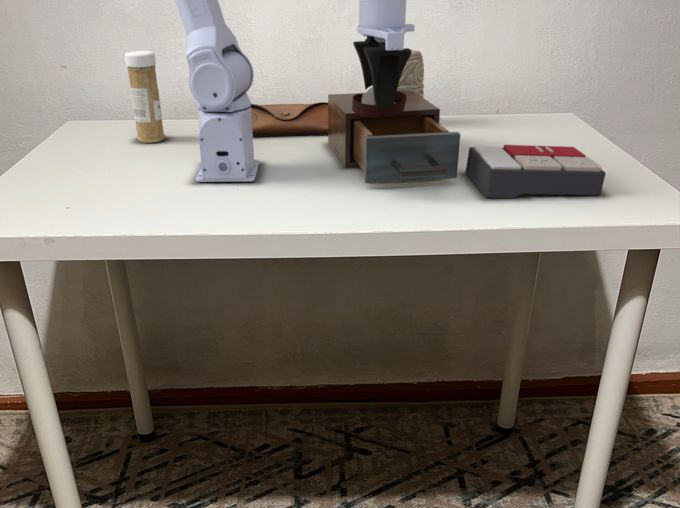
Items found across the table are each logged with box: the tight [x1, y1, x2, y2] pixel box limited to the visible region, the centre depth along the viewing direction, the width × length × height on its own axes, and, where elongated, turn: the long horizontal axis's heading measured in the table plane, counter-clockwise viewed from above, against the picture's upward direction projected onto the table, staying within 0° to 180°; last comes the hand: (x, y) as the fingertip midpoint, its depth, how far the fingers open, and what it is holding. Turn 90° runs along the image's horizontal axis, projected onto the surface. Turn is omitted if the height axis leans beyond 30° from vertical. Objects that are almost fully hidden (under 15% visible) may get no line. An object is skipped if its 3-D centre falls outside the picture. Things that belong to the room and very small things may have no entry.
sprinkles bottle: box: [124, 50, 166, 144], centre depth 112 cm, size 5×5×13 cm
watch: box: [352, 85, 407, 117], centre depth 91 cm, size 8×5×4 cm, turn 116°
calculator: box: [465, 144, 607, 199], centre depth 93 cm, size 11×4×15 cm
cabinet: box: [327, 91, 441, 169], centre depth 106 cm, size 14×14×8 cm
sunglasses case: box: [251, 101, 328, 137], centre depth 119 cm, size 18×7×7 cm
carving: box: [397, 49, 425, 99], centre depth 121 cm, size 6×8×12 cm
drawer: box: [351, 115, 461, 185], centre depth 94 cm, size 18×12×6 cm
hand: (379, 102), depth 92 cm, fingers closed on watch, 5 cm apart
